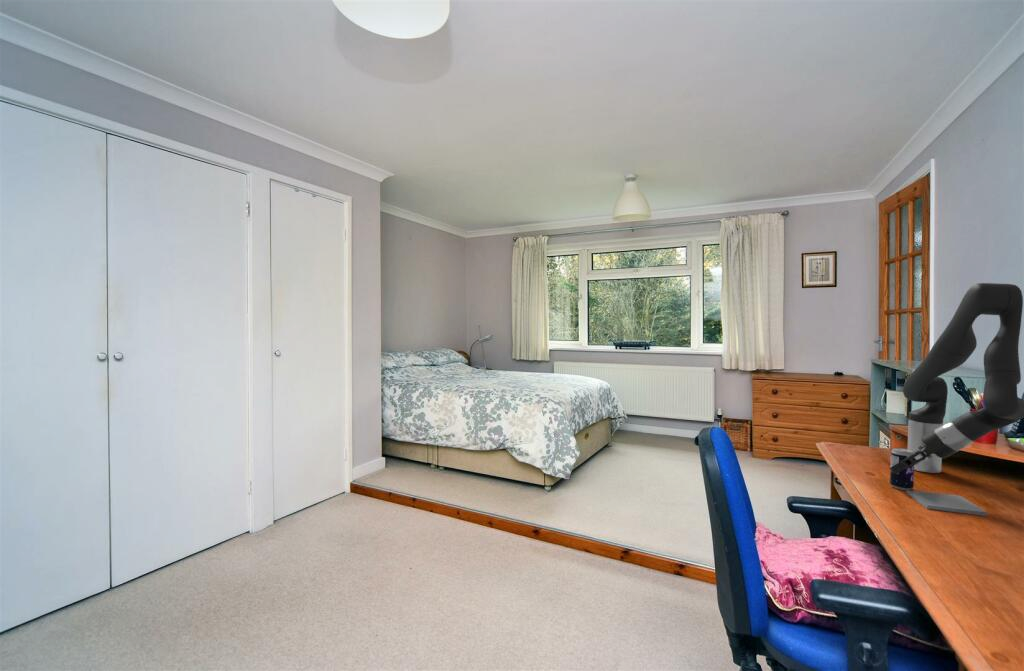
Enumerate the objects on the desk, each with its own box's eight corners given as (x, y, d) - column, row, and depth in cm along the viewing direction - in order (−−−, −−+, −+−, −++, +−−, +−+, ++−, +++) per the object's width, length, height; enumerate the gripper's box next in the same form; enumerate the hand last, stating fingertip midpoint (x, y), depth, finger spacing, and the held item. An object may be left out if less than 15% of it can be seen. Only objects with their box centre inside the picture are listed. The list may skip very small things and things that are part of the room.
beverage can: (907, 492, 144) (909, 453, 143) (886, 486, 149) (887, 448, 148) (916, 489, 146) (918, 451, 146) (895, 483, 151) (896, 446, 151)
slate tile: (906, 493, 143) (906, 489, 143) (960, 499, 139) (960, 495, 139) (927, 508, 131) (927, 505, 131) (987, 515, 126) (987, 512, 126)
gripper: (940, 426, 146) (890, 455, 155) (931, 432, 137) (878, 463, 146) (962, 446, 142) (910, 475, 151) (955, 454, 133) (899, 484, 142)
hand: (895, 469), depth 149 cm, fingers closed on beverage can, 5 cm apart
